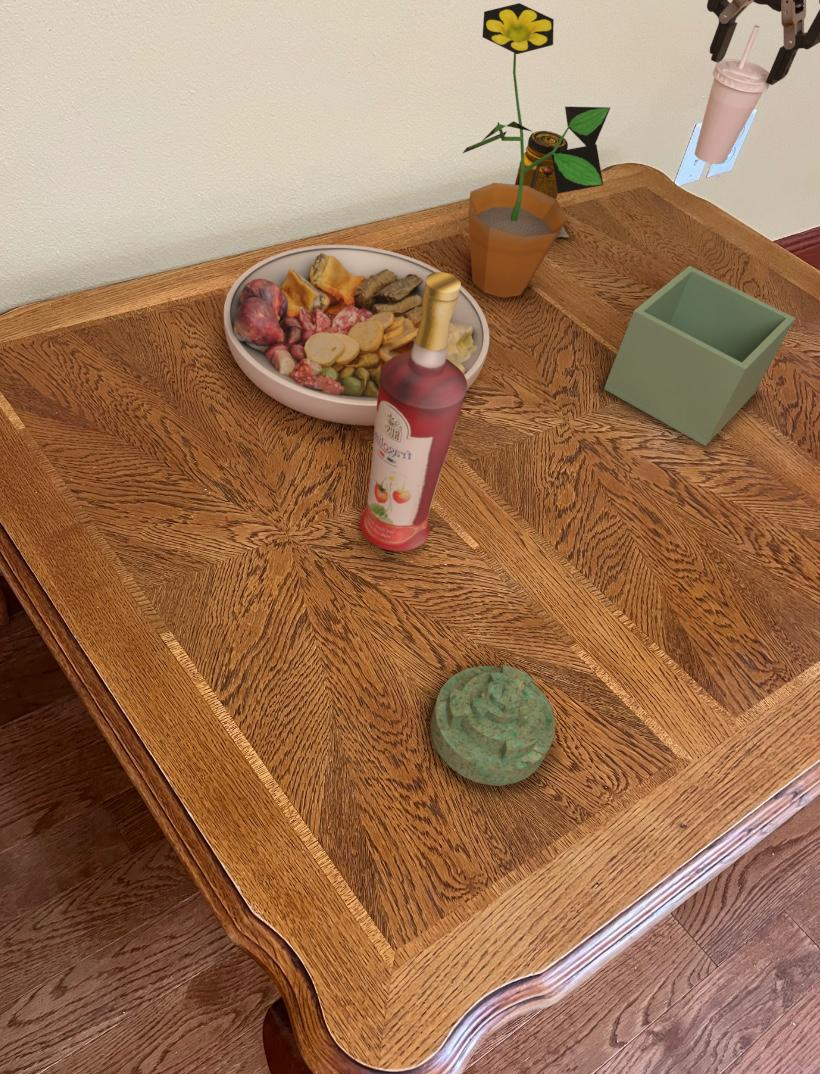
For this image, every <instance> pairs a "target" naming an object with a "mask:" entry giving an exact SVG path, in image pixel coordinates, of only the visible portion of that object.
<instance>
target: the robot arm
mask: <svg viewBox="0 0 820 1074" xmlns="http://www.w3.org/2000/svg"><path fill="white" fill-rule="evenodd" d="M752 3H755V4H757V5H764V6H768V7H769V8H770V9H772V11H776V12H778V13H781V14H780V16H781V17H780V19H781V22H780V23H781V26H782V27H783V28H782V29H783V30H782V31H783V46H781V47H779V49H778V51H777V54H776V56H775V59H774V61H773V63H772V66H771V68H770V71H769V75H768V78H767V80H766V83H768V84H769V86H774V85H775V84H776V83H778V82H780V81H782V80H783V79H785V78H786V76H787V75H788V74H789V71H790V69H791V67H792V65H793V62H794V60H795V57H796V56H797V53H798V51H799V50H800V49H804V50H809V49H811V48H813V47H815V46H816V45H818V44H820V9H819V10H818V12H817V13H816V15H815V17H814V19H813V21H812V23H811V24H810V26H809V28H808V30H807V31H806V32H805V19H806V16H807V0H731V2H729V0H707V4H706V10H707V11H708V12H710V13H713V14H714V15H715V16H716V17H717V19H718V24H717V27H716V30H715V33H714V36H713V38H712V41H711V44H710V45H709V54H711V57H710V61H712V62H714V63H718V62H719V61H721V60H724V59H725V56H726V55H727V52H728V50H729V46H730V44H731V41H732V39H733V36H734V33H735V31H736V29H737V25H738V22H737V18H739V16H740V15H741V14H742V13H743V12H744V11H745V10H746V9H747V8H748V7H749V6H750V5H751V4H752ZM818 4H820V0H818Z"/></svg>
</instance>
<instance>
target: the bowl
mask: <svg viewBox="0 0 820 1074" xmlns="http://www.w3.org/2000/svg"><path fill="white" fill-rule="evenodd" d="M435 272H442V270H439V269H437V268H436V267H434V266H432V265H429V264H428V263H425V262H423V261H420V260H419V259H417V258H413V257H411V256H407V255H404V254H401V253H398V252H394V251H391V250H387V249H382V248H376V247H371V246H364V245H356V244H355V245H353V244H319V245H318V244H317V245H311V246H303V247H297V248H294V249H288V250H285V251H282V252H279V253H276V254H273V255H271V256H269V257H266V258H264V259H263V260H261V261H258V262H257V263H255V264H253V265H252V266H251V267H249V268H248V269H247V270H245V271H244V272H243V273H241V275H240V276H238V278H237V279H236V280H235V281H234V283H233V284H232V285H231V287H230V289H229V290H228V293H227V295H226V297H225V301H224V305H223V328H224V335H225V339H226V342H227V346H228V349H229V350H230V353H231V355H232V357H233V359H234V360H235V362H236V364H237V365H238V367H239V369H240V370H241V371H242V372H243V374H245V376H246V377H247V378H248V379H249V380H250V381H251V382H252V383H253V384H254V385H255V386H256V387H257V388H258V389H260V390H261V391H262V392H263V393H264V394H266V395H267V396H269V397H271V399H273V400H275V401H276V402H278V403H280V404H282V405H284V406H286V407H287V408H289V409H292V410H294V411H295V412H298V413H301V414H304V415H307V416H309V417H312V418H316V419H319V420H323V421H326V422H333V423H335V424H336V423H337V424H343V425H351V426H365V427H366V426H368V427H369V426H371V427H375V417H376V408H377V399H378V390H379V379H380V372H381V369H382V367H383V365H384V364H385V363H386V362H387V361H388V360H389V359H391V358H393V357H395V356H397V355H400V354H404V353H408V352H412V349H413V345H414V342H415V339H416V335H417V332H418V329H419V325H420V322H421V319H422V315H423V307H422V298H423V292H424V287H425V282H426V278H427V276H428V275H429V274H431V273H435ZM489 347H490V328H489V324H488V321H487V319H486V315H485V313H484V311H483V309H482V308H481V307H480V305H479V304H478V302H477V301H476V300H475V298H474V297H473V296H472V294H470V293H469V292H468V290H467V289H466V288H465V287H464V286H462V285H461V286H460V291H459V296H458V300H457V305H456V307H455V310H454V312H453V315H452V317H451V320H450V327H449V336H448V345H447V354H446V359H448V360H449V361H450V362H452V363H453V364H454V365H455V366H457V367H458V368H459V369H460V370H461V372H462V373H463V374H464V376H465V378H466V381H467V391H468V390H469V389H470V388H471V387H472V385H473V384H474V383H475V381H476V380H477V378H478V377H479V375H480V373H481V371H482V369H483V367H484V365H485V363H486V359H487V355H488V352H489Z"/></svg>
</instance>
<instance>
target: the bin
mask: <svg viewBox="0 0 820 1074" xmlns="http://www.w3.org/2000/svg"><path fill="white" fill-rule="evenodd" d="M795 320H796V317H795V316H792V315H790V314H789V313H786V312H785V311H782V310H781V309H779V308H776V307H774V306H772V305H770V304H768V303H767V302H765V301H763V300H760V299H758V298H756V297H754V296H752V295H750V294H748V293H746V292H745V291H742V290H740V289H738V288H735V287H733V286H732V285H730V284H728V283H726V282H723V281H721V280H719V279H717V278H716V277H714V276H711V275H709V274H707V273H705V272H703V271H701V270H699V269H698V268H695V267H693V266H691V265H689V266H687V267H686V268H684V269H683V270H682V271H681V272H680V273H679V274H677V275H676V276H674V277H673V278H672V279H671V280H669V281H668V283H666V284H665V285H663V286H662V287H661V288H660V289H658V290H657V291H656V292H655V293H654V294H652V295H651V296H650V297H649V298H647V299H646V300H644V302H643V303H641V304H640V305H639V306H638V307H636V308H635V309H634V310H633V312H632V315H631V317H630V320H629V322H628V325H627V327H626V330H625V332H624V335H623V337H622V340H621V343H620V344H619V348H618V351H617V354H616V355H615V358H614V361H613V363H612V367H611V369H610V372H609V374H608V377H607V379H606V382H605V385H604V387H603V390H605V391H606V392H608V393H610V394H611V395H613V396H615V397H617V398H619V399H621V400H623V402H626V403H628V404H629V405H630V406H633V407H634V408H636V409H638V410H639V411H642V412H643V413H645V414H647V415H649V416H650V417H653V418H654V419H656V420H658V421H660V422H662V423H663V424H665V425H667V426H669V427H670V428H672V429H674V430H676V431H677V432H679V433H681V434H682V435H685V436H686V437H688V438H689V439H692V441H695V442H697V443H698V444H700V445H702V446H704V447H706V446H707V445H708V444H709V443H710V442H711V441H712V440H713V439H714V437H715V436H716V435H717V434H718V433H720V432H721V430H722V429H723V428H724V427H725V425H727V424H728V423H729V422H730V420H731V419H732V418H733V417H734V416H735V415H736V414H737V413H738V412H739V411H740V410H741V409H742V408H743V406H744V405H746V404H747V402H749V400H750V399H751V398H752V397H753V396H754V395H755V394H756V391H757V389H758V388H759V386H760V384H761V382H762V381H763V379H764V377H765V375H766V373H767V371H768V369H769V368H770V366H771V364H772V362H773V360H774V359H775V357H776V355H777V353H778V351H779V349H780V348H781V345H782V344H783V342H784V341H785V339H786V337H787V335H788V333H789V331H790V329H791V328H792V325H793V324H794V322H795Z"/></svg>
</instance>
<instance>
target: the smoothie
mask: <svg viewBox="0 0 820 1074" xmlns="http://www.w3.org/2000/svg"><path fill="white" fill-rule="evenodd" d="M759 29H760V26H759V25H757V24H756V25H754V26H753V28H752V31H751V33H750V36H749V38H748V40H747V43H746V46H745V49H744V51H743V53H742V56H741V59H738V58H724V59H722V60H721V61H719V62H716V64H715V67H714V69H713V71H712V76H713V81H712V85H711V88H710V92H709V95H708V100H707V103H706V107H705V111H704V115H703V119H702V123H701V127H700V129H699V134H698V138H697V142H696V146H695V149H694V156H695V157H696V158H697V159H699V160H700V161H702V162H704V163H707V164H711V165H722V164H724V163H725V161H726V160H727V159H728V156H729V155H730V152H731V151H732V149H733V147H734V145H735V144H736V142H737V140H738V138H739V136H740V135H741V133H742V131H743V130H744V128H745V126H746V124H747V122H748V121H749V118H750V117H751V115H752V113H753V111H754V109H756V108H755V107H756V106H757V104H758V103H759V100H760V99H761V98H762V97H761V96H762V95H763V93H764V92H766V91H767V90H769V88H770V84H768V83H766V80H767V78H768V75H769V73H770V71H768V70H767V69H765V68H764V67H762V66H760V65H758V64H756V63H753V62H751V61H747V60H748V57H749V54H750V52H751V50H752V48H753V44H754V42H755V39H756V37H757V35H758V31H759Z"/></svg>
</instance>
